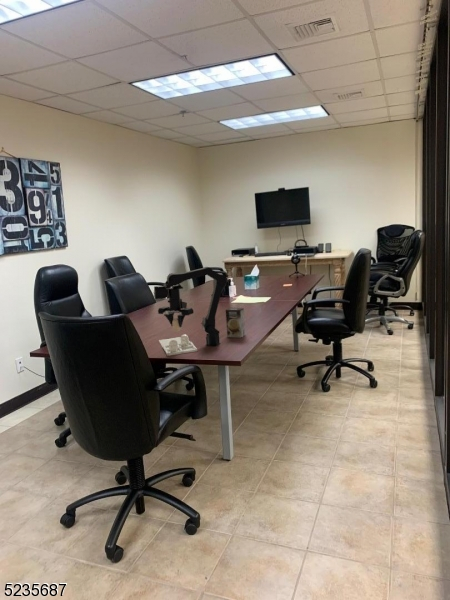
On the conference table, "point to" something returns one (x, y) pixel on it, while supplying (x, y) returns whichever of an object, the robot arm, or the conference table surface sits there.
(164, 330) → the conference table surface
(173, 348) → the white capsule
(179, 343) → the egg carton
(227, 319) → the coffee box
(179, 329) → the brown egg
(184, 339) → the cream egg back
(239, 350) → the conference table surface
